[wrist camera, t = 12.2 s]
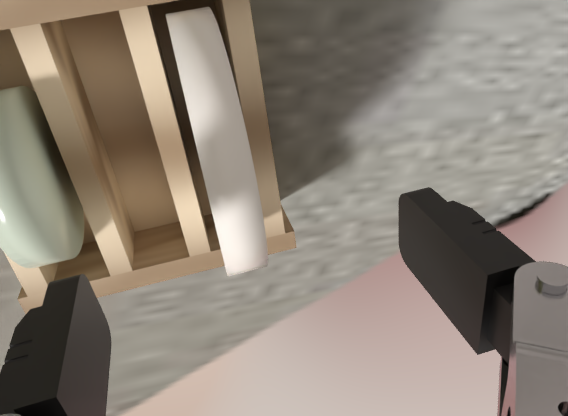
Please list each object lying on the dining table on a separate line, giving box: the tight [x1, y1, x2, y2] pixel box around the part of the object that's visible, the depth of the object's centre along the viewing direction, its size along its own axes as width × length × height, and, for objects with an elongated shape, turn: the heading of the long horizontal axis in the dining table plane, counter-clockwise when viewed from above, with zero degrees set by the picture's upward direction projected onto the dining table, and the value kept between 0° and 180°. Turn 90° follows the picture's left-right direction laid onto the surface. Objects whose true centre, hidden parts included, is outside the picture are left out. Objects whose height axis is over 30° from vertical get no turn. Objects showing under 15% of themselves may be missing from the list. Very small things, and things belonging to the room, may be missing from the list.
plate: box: [166, 7, 268, 276], centre depth 19 cm, size 2×10×10 cm, turn 8°
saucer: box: [0, 86, 84, 268], centre depth 19 cm, size 2×7×7 cm, turn 8°
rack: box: [0, 0, 296, 314], centre depth 21 cm, size 13×13×5 cm
